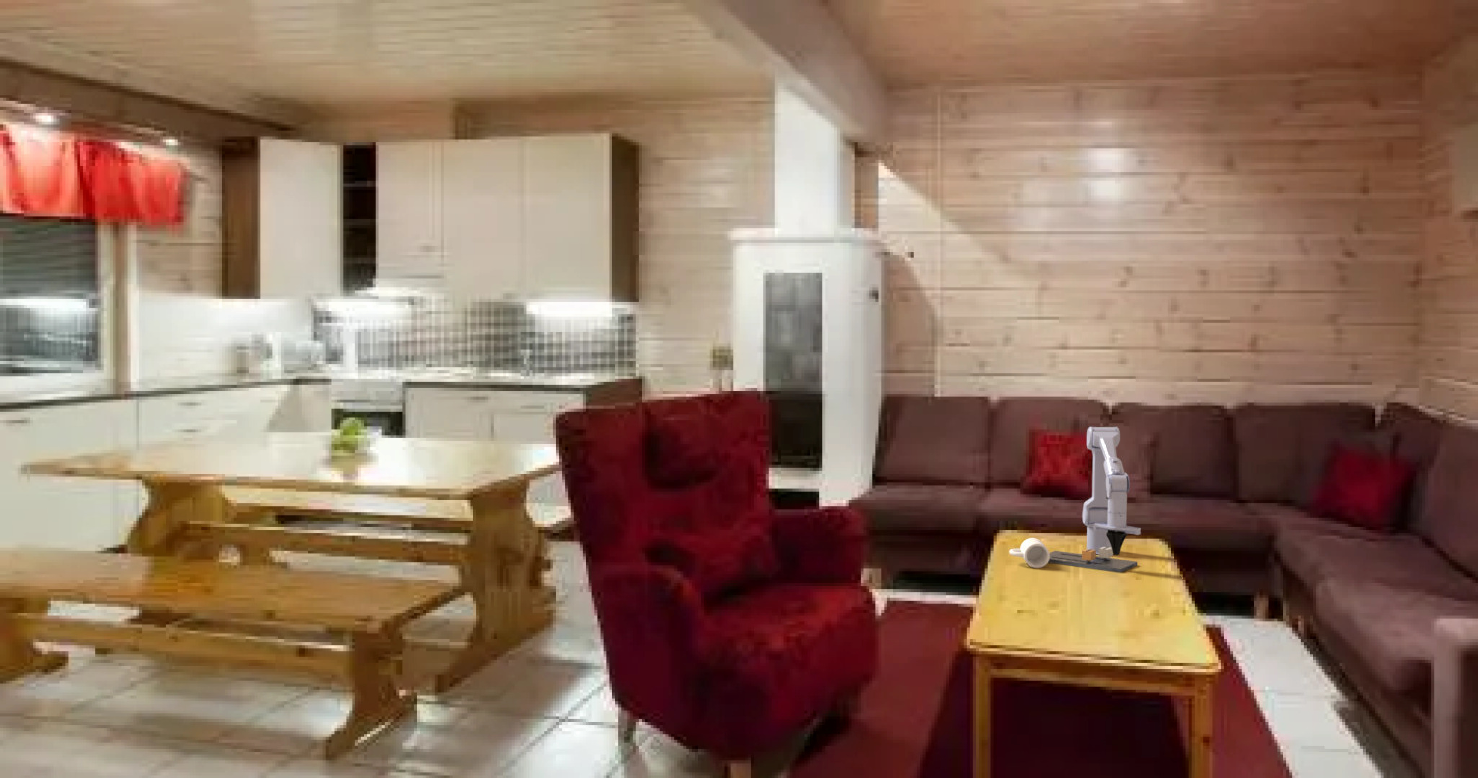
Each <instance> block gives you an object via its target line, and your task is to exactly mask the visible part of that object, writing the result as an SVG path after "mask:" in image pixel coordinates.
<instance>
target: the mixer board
mask: <svg viewBox="0 0 1478 778" xmlns="http://www.w3.org/2000/svg"><path fill="white" fill-rule="evenodd" d="M1049 553H1050V559H1049V561H1048V563H1049V564H1050V563H1051V564H1056V565H1064V566H1070V567H1078V568H1084V569H1085V568H1086V569H1092V570H1098V571H1107V572H1112V573H1113V572H1114V573H1120V574H1121V573H1124V572H1126V571H1128V570H1131V569H1132V568H1135V567H1137V566H1138V561H1134V560H1127V559H1119V558H1115V557H1114V558H1112V557H1110V558H1108V559H1104V558H1102V557H1099V555H1096V559H1094V560H1091V561H1090V562H1088V561H1087V560H1082V553H1077V552H1076V553H1075V552H1068V551H1061V550H1054V551H1050V552H1049ZM1048 563H1047V564H1048Z"/></svg>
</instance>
